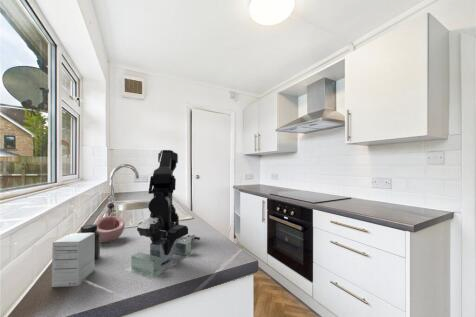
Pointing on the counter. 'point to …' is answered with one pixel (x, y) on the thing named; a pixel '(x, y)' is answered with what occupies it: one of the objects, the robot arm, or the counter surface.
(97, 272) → the counter surface
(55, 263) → the supplement box
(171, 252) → the steel block
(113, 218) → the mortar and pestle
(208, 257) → the counter surface
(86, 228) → the supplement bottle
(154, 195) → the robot arm
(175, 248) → the sliding jaw
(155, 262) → the vise
